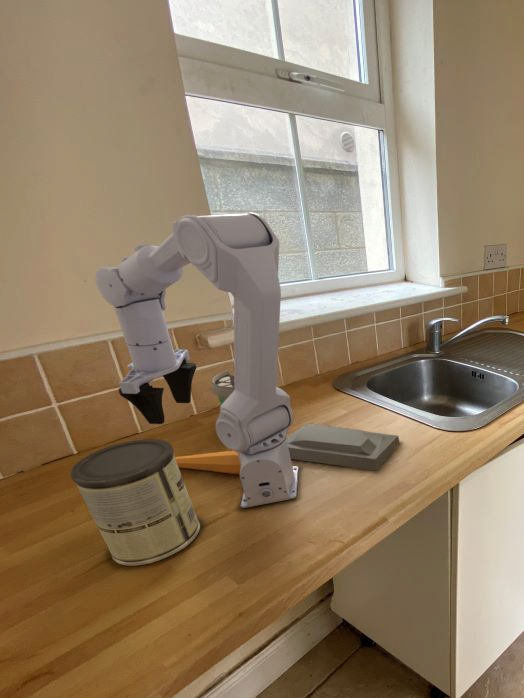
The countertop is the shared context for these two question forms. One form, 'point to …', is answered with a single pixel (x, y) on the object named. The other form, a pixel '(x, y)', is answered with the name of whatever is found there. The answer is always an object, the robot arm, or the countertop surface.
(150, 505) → the coffee can
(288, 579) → the countertop surface
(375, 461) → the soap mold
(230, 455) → the carrot
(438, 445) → the countertop surface
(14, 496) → the countertop surface
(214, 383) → the food container
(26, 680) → the countertop surface
